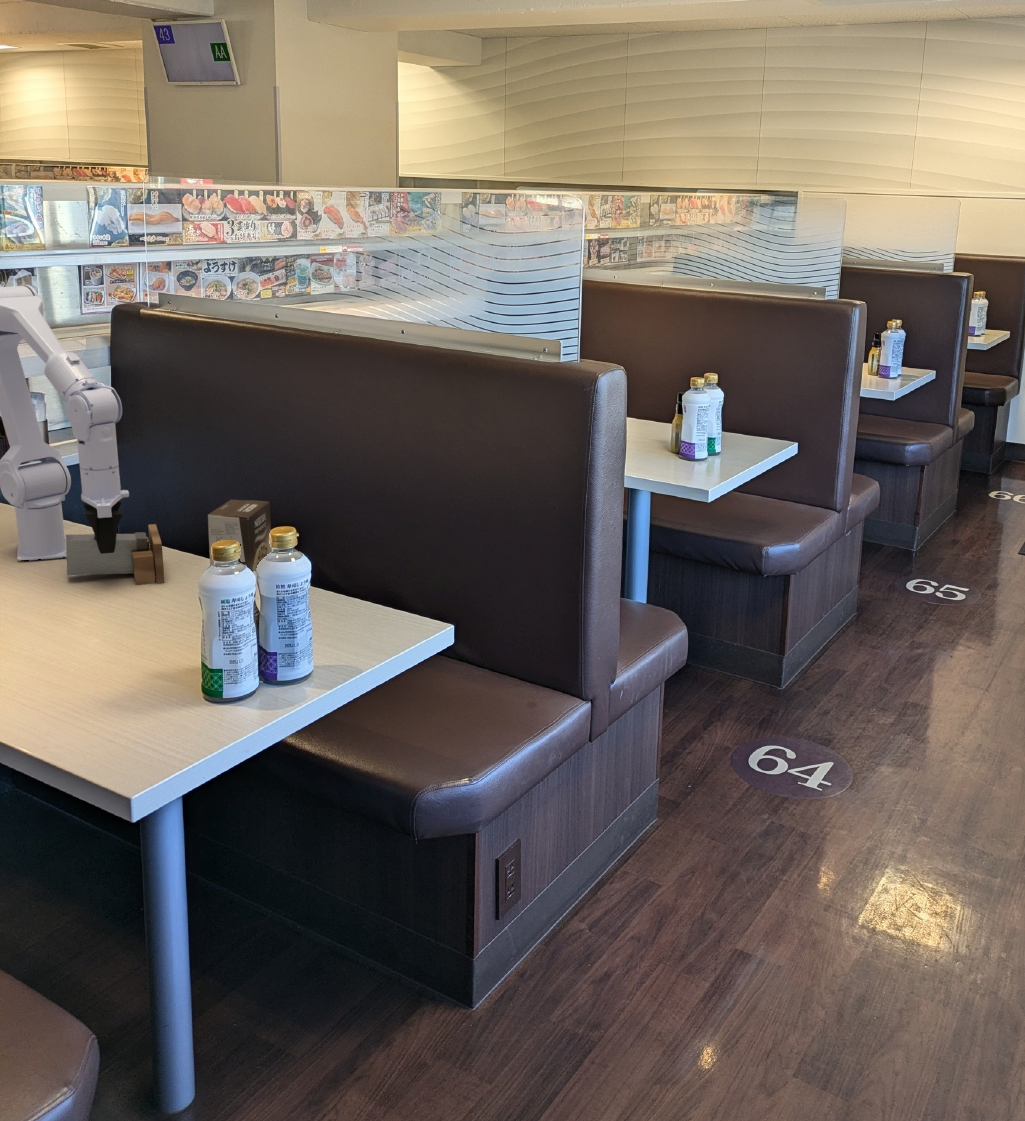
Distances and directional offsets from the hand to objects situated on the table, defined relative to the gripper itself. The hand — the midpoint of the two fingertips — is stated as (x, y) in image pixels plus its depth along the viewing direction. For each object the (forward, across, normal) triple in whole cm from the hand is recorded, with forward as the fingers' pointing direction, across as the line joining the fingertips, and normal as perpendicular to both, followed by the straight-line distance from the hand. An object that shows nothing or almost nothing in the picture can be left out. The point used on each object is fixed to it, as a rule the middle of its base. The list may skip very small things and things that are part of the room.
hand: (106, 548), depth 179 cm
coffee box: (+5, -21, -18) cm, 28 cm away
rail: (+4, 0, 0) cm, 4 cm away
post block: (+5, 0, -5) cm, 7 cm away
